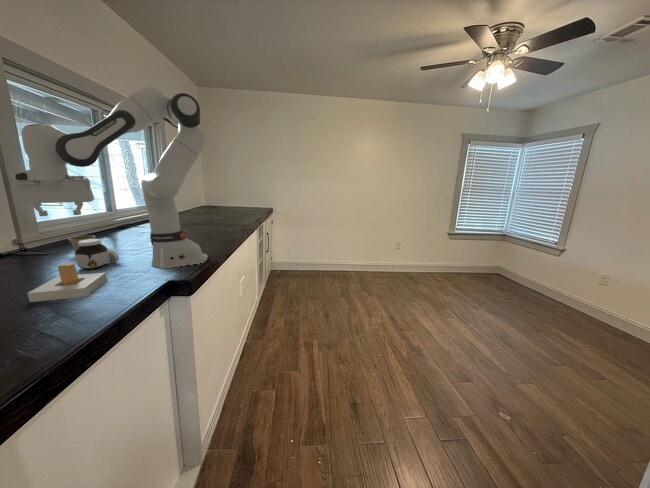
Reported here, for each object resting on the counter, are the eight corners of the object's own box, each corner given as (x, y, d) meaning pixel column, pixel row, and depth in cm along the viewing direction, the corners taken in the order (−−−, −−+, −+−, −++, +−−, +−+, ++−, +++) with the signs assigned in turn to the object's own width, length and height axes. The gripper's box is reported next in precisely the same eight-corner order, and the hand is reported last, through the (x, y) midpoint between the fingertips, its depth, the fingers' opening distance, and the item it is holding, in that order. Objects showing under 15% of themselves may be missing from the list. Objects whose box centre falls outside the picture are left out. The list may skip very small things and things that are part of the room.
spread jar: (74, 271, 103) (67, 243, 100) (91, 262, 114) (85, 237, 111) (110, 269, 106) (104, 242, 103) (122, 260, 117) (118, 235, 114)
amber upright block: (83, 287, 89) (77, 262, 87) (76, 291, 86) (70, 266, 83) (68, 288, 88) (62, 263, 86) (61, 293, 84) (54, 267, 82)
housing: (107, 280, 95) (105, 272, 95) (86, 296, 82) (84, 287, 82) (59, 284, 91) (57, 276, 90) (30, 302, 78) (27, 293, 77)
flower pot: (77, 253, 126) (73, 236, 124) (101, 251, 130) (98, 234, 128) (68, 258, 118) (64, 240, 116) (94, 256, 122) (90, 238, 120)
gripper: (92, 175, 94) (100, 213, 98) (18, 175, 88) (30, 215, 91) (83, 175, 89) (92, 215, 92) (3, 175, 82) (17, 218, 86)
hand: (61, 215), depth 92 cm, fingers open, 8 cm apart
